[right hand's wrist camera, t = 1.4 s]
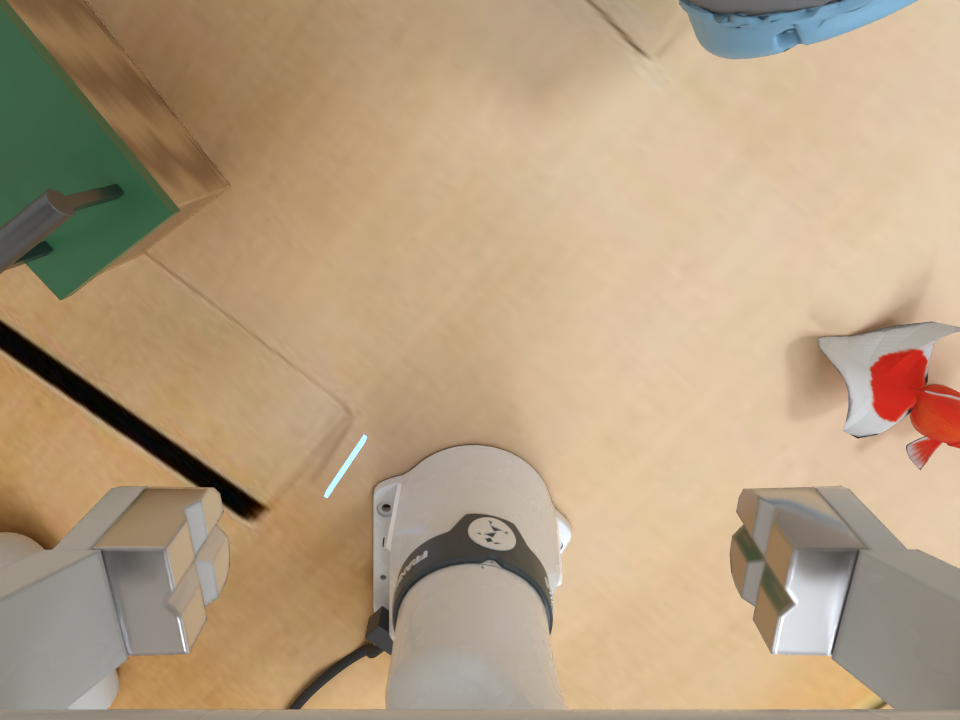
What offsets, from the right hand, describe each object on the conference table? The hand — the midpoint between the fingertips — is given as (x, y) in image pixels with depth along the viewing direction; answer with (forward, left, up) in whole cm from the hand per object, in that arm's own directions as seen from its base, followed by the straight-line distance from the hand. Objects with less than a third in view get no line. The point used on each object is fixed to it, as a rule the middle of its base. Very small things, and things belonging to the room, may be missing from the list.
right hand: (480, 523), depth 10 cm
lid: (-3, +28, -33) cm, 43 cm away
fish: (-7, -37, -43) cm, 57 cm away
